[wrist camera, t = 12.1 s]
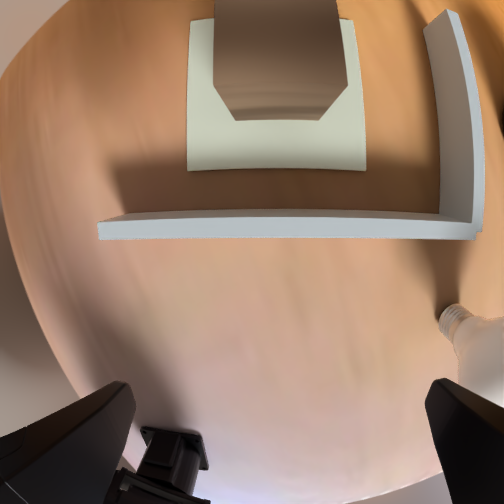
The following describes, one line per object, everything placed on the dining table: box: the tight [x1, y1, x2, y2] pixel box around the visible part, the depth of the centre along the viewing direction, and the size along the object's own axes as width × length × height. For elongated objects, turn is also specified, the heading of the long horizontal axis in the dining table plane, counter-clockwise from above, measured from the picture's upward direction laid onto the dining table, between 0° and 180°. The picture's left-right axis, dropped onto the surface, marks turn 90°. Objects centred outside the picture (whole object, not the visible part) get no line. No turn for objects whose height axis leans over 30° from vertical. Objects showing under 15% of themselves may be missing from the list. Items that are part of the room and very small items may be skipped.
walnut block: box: [213, 0, 348, 121], centre depth 12 cm, size 5×5×7 cm
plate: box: [187, 18, 366, 171], centre depth 15 cm, size 11×11×1 cm
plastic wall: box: [97, 9, 485, 240], centre depth 14 cm, size 16×22×4 cm
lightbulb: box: [438, 304, 504, 408], centre depth 13 cm, size 6×6×11 cm
